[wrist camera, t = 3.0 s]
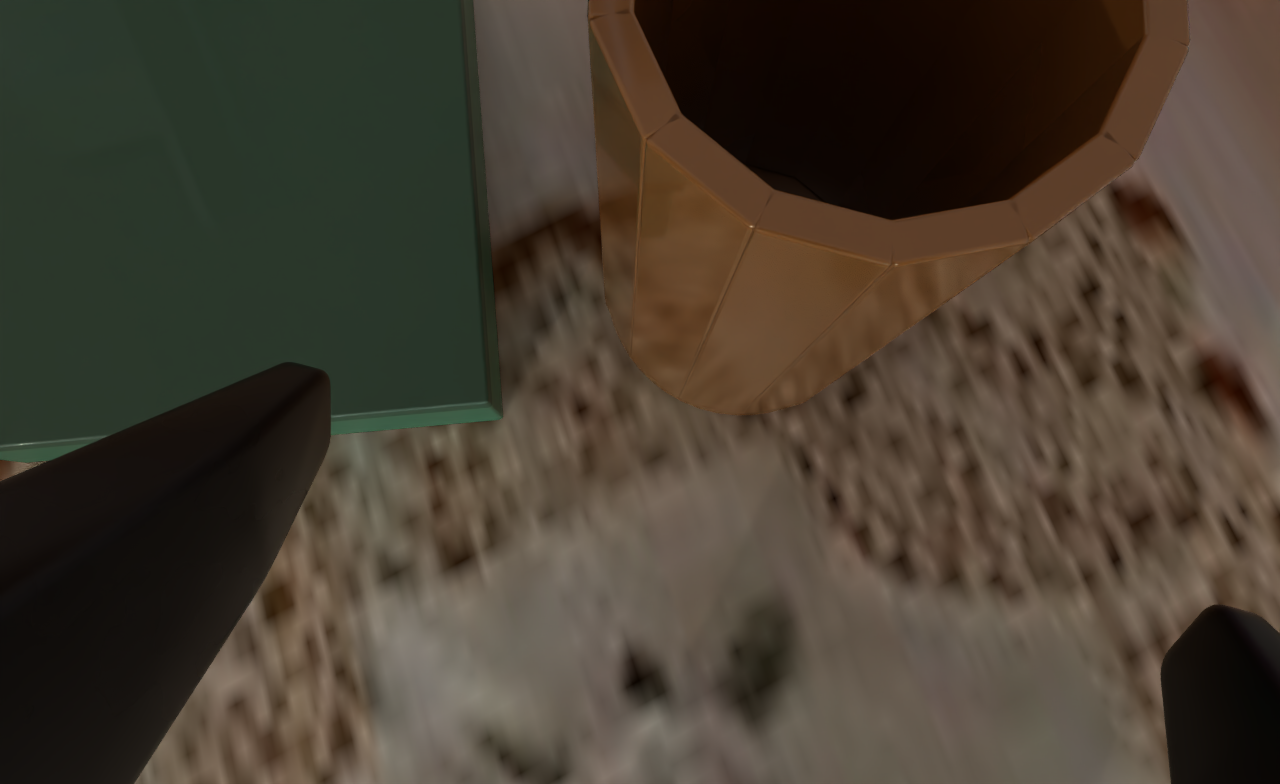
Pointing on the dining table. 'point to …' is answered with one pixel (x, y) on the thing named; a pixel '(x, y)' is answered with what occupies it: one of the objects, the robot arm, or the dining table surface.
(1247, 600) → the dining table surface
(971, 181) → the brown hollow cylinder
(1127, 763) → the dining table surface
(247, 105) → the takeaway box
